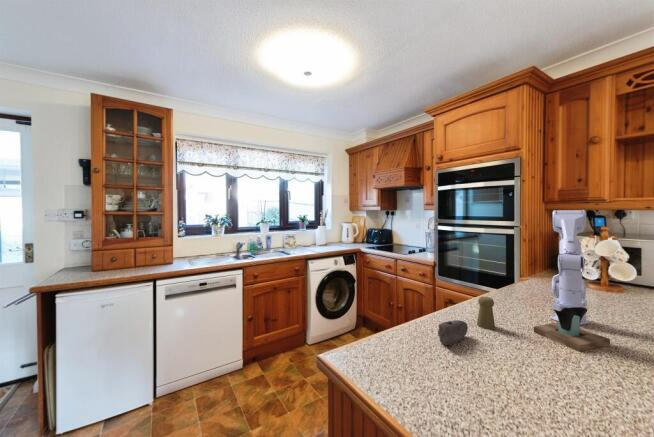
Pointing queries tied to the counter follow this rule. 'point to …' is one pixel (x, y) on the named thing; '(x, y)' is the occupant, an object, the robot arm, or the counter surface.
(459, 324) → the perforated stone tool
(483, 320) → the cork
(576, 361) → the counter surface
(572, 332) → the teal peg
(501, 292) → the counter surface
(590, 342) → the walnut socket block
